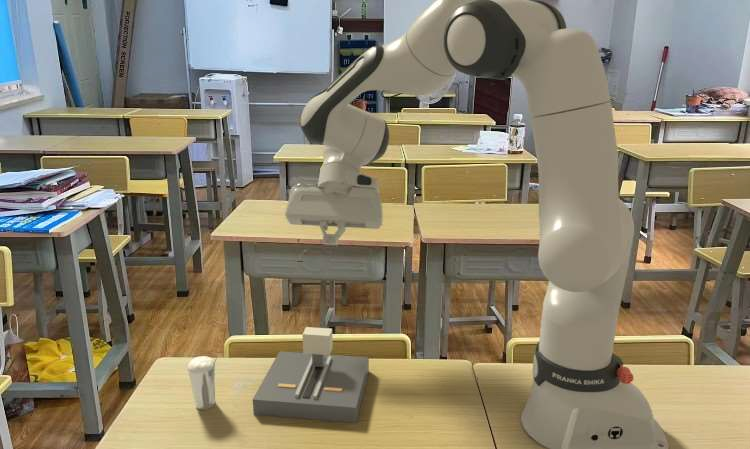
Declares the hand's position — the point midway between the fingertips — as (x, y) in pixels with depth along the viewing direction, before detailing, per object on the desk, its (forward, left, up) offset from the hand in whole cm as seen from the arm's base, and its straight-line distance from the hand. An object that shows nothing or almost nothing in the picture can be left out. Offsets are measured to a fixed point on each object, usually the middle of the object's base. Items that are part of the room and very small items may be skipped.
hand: (330, 243), depth 110 cm
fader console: (0, +17, -23) cm, 29 cm away
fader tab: (0, +13, -20) cm, 24 cm away
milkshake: (+18, +23, -23) cm, 38 cm away
